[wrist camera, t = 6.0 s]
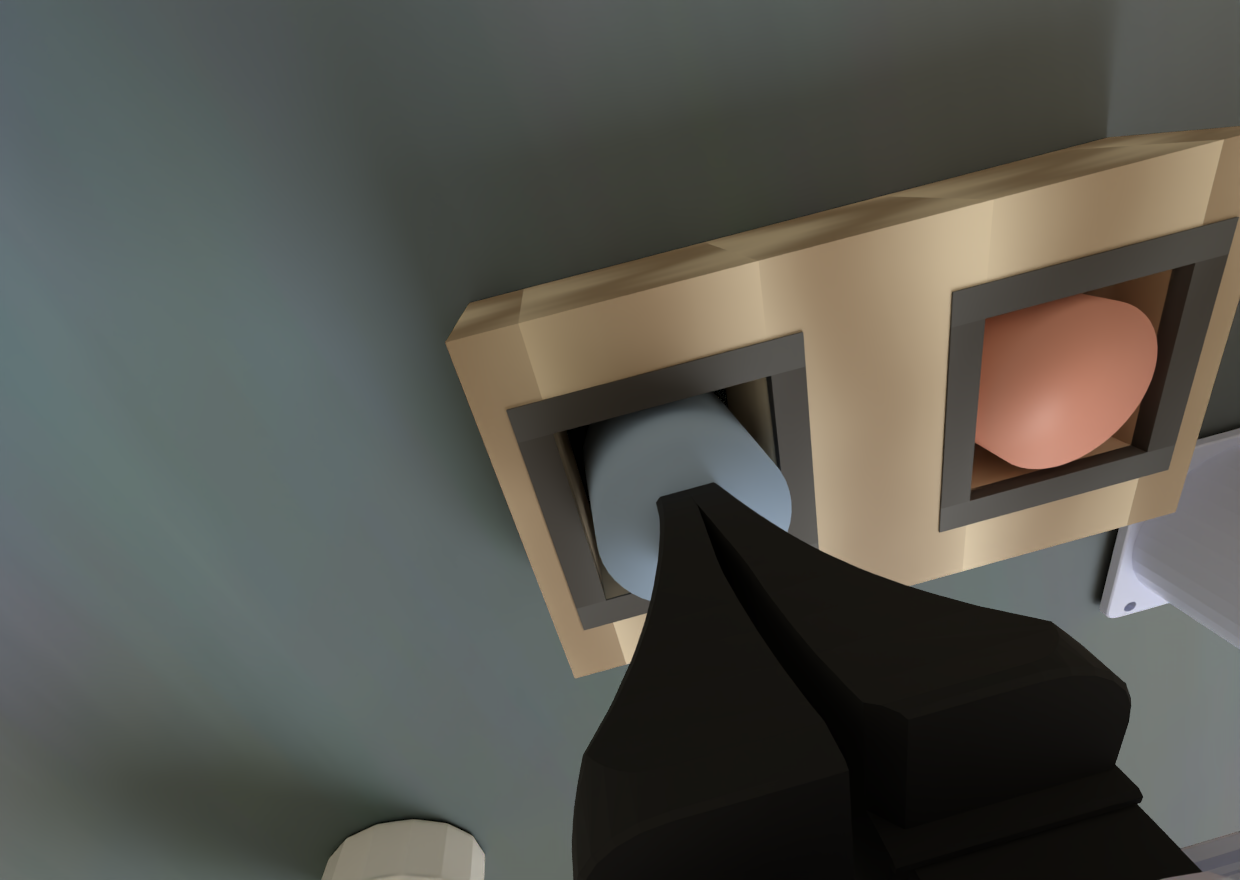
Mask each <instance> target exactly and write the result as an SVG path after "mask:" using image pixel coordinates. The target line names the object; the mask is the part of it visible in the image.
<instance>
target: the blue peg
mask: <svg viewBox="0 0 1240 880" xmlns="http://www.w3.org/2000/svg"><path fill="white" fill-rule="evenodd" d="M583 458H584V467H585V473H586V479H587V485H588V492H589V498H590V504H591V510H592V517H593V523H594V529H595V535H596V542H597V547H598V551H599V555H600V557H601V560H602V562H603V564H604V566H605V568H606V569H607V571H608V573H609V574H610V575H611V576H612V577H613V579H614V580H615V581H616V582H617V583H618V584H620V585H621V586H622V587H623V588H624V589H626V590H628V591H629V592H631V593H632V594H634V595H636V596H638V597H640V598H643V599H646V600H649V601H650V600H651V595H652V591H653V586H654V580H655V574H656V568H657V562H658V552H659V538H660V520H659V514H658V510H657V506H656V502H657V500H658V499H659V497H661V496H665V495H668V494H672V493H676V492H679V491H683V490H687V489H691V488H694V487H698V486H702V485H705V484H709V483H713V482H714V483H716V484H718V485H719V486H721V487H722V488H723V489H725V490H726V491H727V492H729V493H730V494H731V495H733V496H734V497H735V498H737V499H738V500H739V501H741V502H742V503H744V504H745V505H746V506H748V507H749V508H751V509H752V510H754V511H755V512H757V513H758V514H759V515H761V516H763V517H764V518H766V519H767V520H769V521H770V522H772V523H773V524H775V525H777V526H778V527H780V528H781V529H783V530H785V531H786V532H788V529H789V525H790V520H791V512H792V511H791V497H790V491H789V488H788V485H787V483H786V480H785V478H784V476H783V475H782V473H781V471H780V470H779V469H778V467H777V466H776V465H775V463H774V462H773V461H772V460H771V459H770V458H769V456H768V455H767V454H766V453H765V452H764V450H763V449H762V448H761V447H760V446H759V445H758V443H757V442H756V441H755V440H754V439H753V437H752V436H751V435H750V434H749V433H748V432H747V430H746V429H745V428H744V427H743V426H742V424H741V423H740V422H739V421H738V420H737V419H736V417H735V416H734V415H733V414H732V413H731V411H730V410H729V409H728V408H727V407H726V406H725V404H724V403H723V402H722V401H721V400H720V399H719V398H718V397H717V396H716V395H715V394H714V393H713V392H708V393H704V394H700V395H697V396H693V397H689V398H685V399H682V400H678V401H674V402H670V403H667V404H663V405H659V406H655V407H652V408H648V409H644V410H640V411H637V412H633V413H629V414H625V415H622V416H618V417H614V418H610V419H606V420H603V421H599V422H595V423H591V424H590V426H589V428H588V431H587V433H586V437H585V442H584V450H583Z"/></svg>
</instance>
